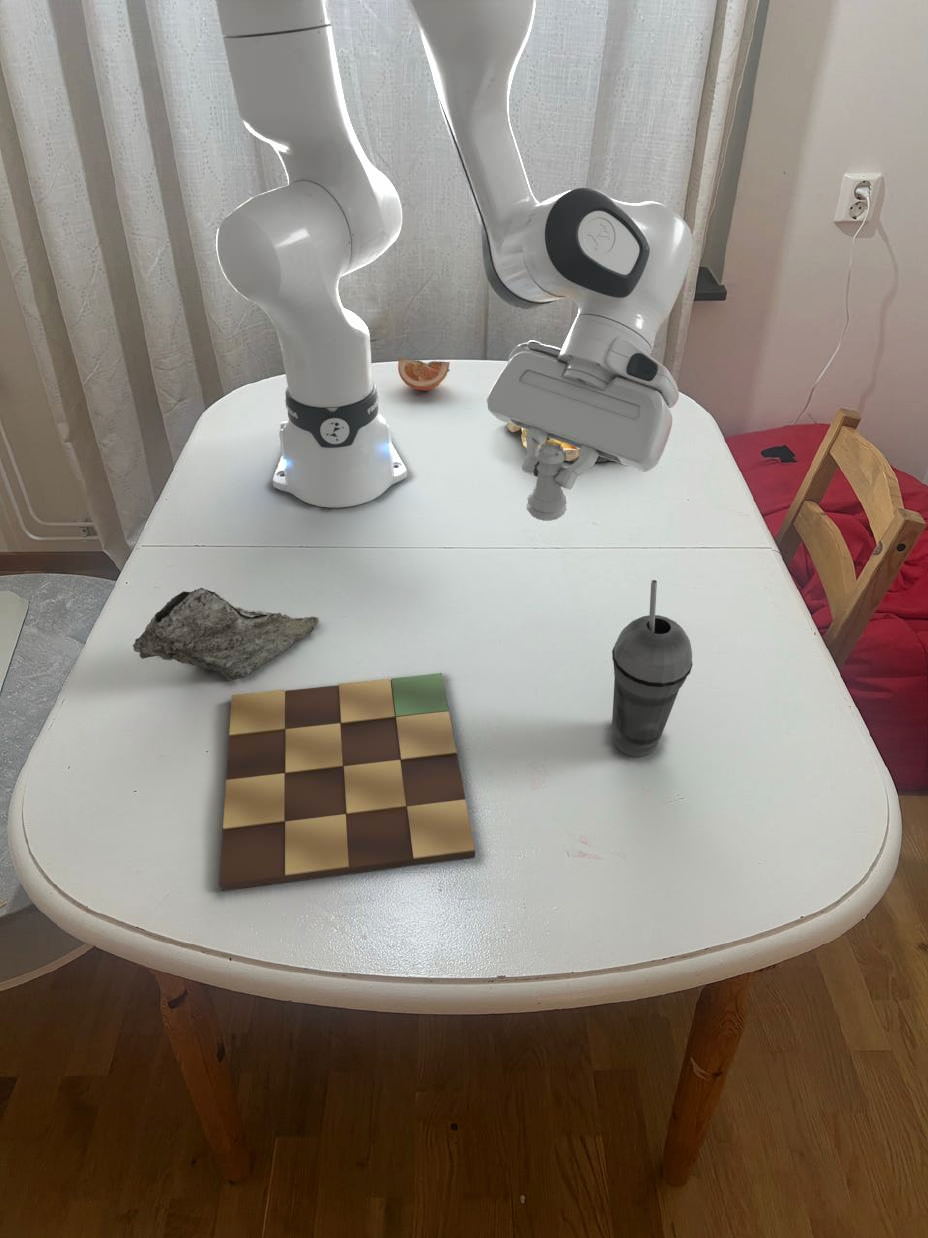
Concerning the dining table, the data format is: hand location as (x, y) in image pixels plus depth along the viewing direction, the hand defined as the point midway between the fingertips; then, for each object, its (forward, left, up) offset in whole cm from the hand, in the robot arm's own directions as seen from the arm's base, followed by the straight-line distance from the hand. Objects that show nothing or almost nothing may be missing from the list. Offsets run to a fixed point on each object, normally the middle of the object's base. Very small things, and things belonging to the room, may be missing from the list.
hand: (546, 479), depth 91 cm
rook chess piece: (-1, 0, -5) cm, 5 cm away
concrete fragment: (+5, -35, -16) cm, 39 cm away
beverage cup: (+23, +5, -16) cm, 29 cm away
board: (+23, -24, -16) cm, 37 cm away
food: (-39, +13, -16) cm, 44 cm away
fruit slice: (-55, -7, -16) cm, 57 cm away
